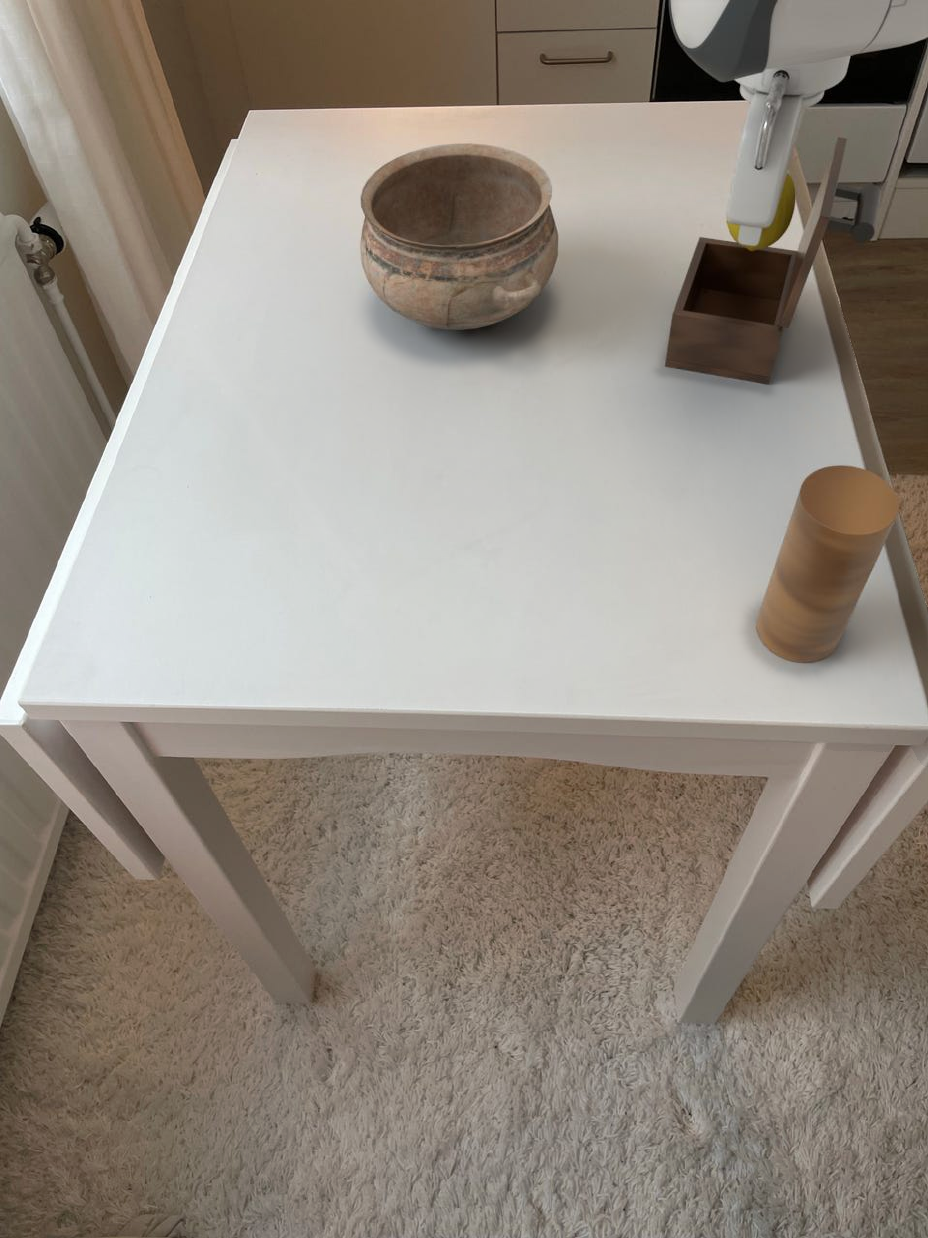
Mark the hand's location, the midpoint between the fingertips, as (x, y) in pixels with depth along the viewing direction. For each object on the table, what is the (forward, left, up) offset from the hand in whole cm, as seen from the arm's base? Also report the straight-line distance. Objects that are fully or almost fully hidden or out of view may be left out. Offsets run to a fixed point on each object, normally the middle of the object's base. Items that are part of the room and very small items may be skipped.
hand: (755, 218), depth 82 cm
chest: (0, 0, -12) cm, 12 cm away
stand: (-11, +33, -12) cm, 37 cm away
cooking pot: (+27, +3, -12) cm, 29 cm away
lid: (-5, 0, -1) cm, 5 cm away
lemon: (0, 0, -3) cm, 3 cm away
